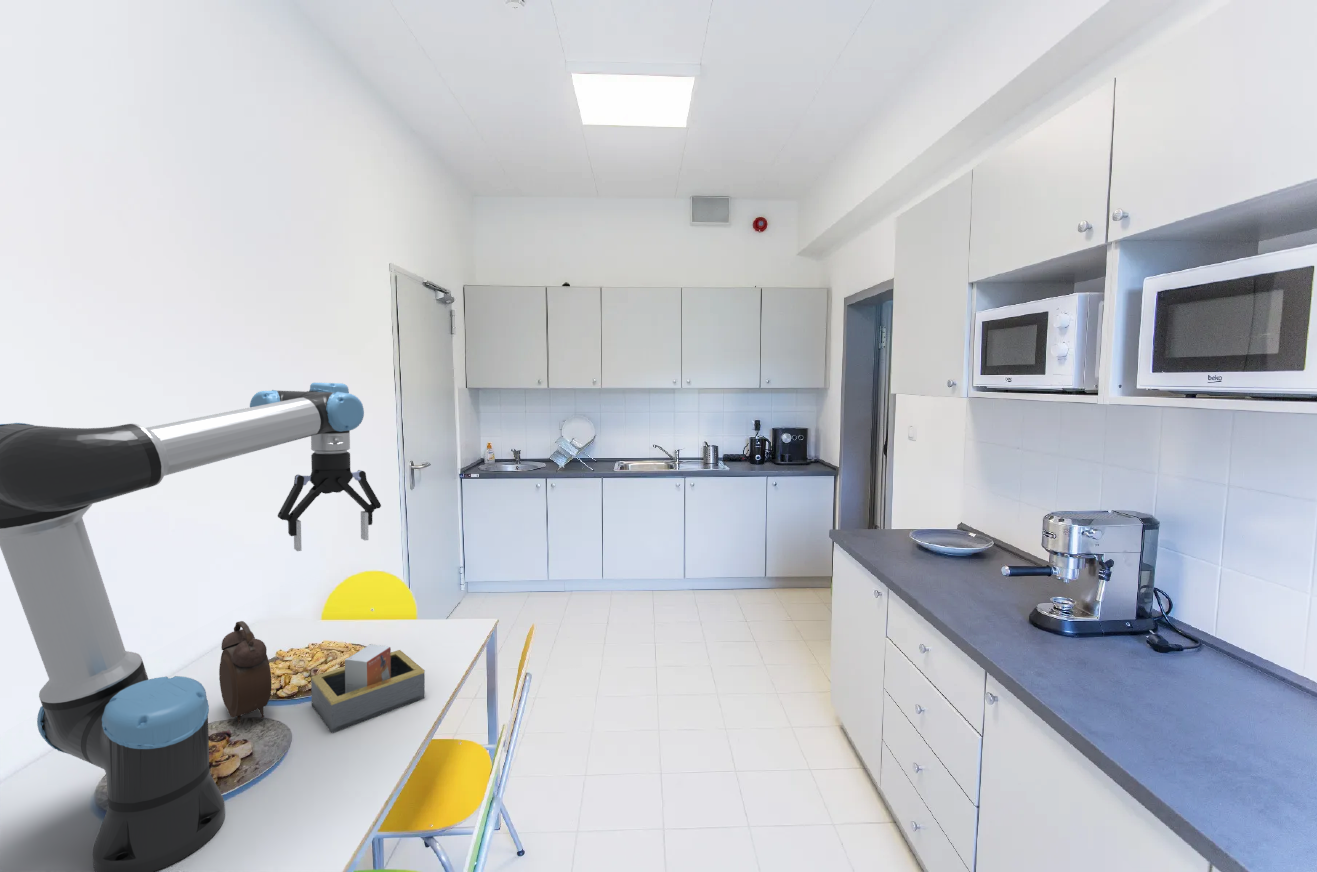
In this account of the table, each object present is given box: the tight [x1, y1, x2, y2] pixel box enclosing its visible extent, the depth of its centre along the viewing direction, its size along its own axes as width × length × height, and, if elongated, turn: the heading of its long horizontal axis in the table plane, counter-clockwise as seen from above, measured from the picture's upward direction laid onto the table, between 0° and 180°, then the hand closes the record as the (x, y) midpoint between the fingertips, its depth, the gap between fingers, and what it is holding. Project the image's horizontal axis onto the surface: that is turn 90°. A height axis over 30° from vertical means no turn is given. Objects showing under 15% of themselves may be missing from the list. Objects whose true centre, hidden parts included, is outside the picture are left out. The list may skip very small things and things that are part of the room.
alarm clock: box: [218, 620, 273, 725], centre depth 117 cm, size 14×7×20 cm, turn 50°
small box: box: [344, 643, 392, 694], centre depth 123 cm, size 8×6×10 cm
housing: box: [310, 649, 426, 734], centre depth 124 cm, size 19×14×7 cm
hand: (332, 544), depth 125 cm, fingers open, 13 cm apart
